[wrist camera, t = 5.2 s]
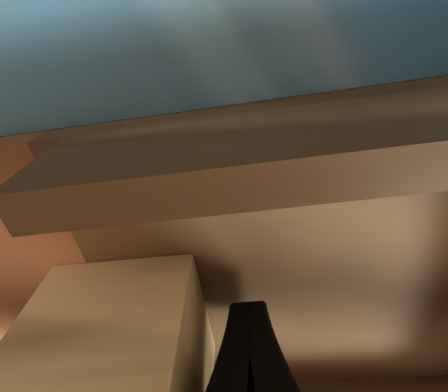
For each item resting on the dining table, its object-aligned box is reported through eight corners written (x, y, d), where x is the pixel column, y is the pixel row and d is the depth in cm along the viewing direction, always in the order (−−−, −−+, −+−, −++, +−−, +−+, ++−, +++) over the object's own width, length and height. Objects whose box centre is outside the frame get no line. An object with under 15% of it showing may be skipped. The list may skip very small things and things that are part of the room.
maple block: (215, 343, 13) (206, 509, 9) (101, 350, 13) (39, 510, 9) (192, 253, 10) (163, 425, 6) (52, 266, 11) (-65, 433, 7)
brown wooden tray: (456, 363, 15) (522, 467, 12) (20, 389, 17) (-33, 484, 14) (588, 55, 8) (856, 91, 5) (-187, 162, 10) (-401, 242, 7)
